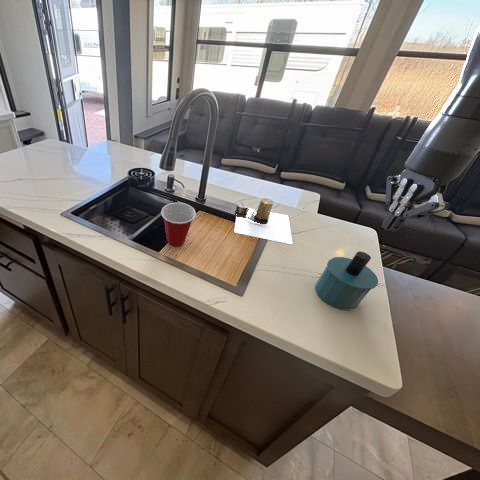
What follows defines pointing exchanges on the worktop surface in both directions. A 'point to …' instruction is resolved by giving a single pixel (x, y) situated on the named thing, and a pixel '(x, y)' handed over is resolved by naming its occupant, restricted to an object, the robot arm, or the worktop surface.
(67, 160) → the worktop surface
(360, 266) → the lid
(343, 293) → the canister
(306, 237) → the worktop surface
